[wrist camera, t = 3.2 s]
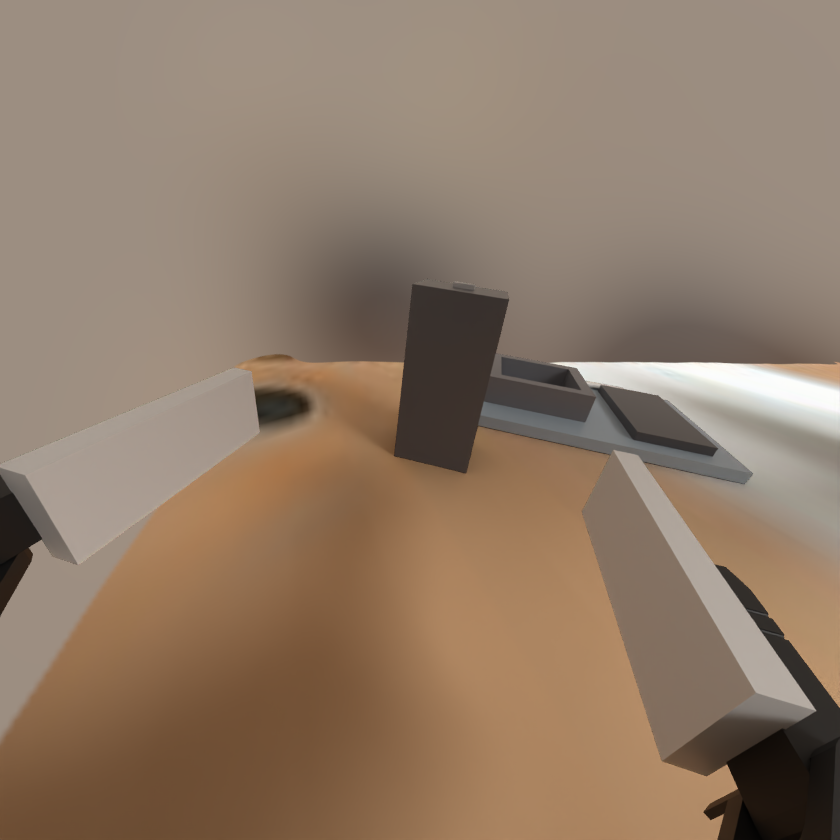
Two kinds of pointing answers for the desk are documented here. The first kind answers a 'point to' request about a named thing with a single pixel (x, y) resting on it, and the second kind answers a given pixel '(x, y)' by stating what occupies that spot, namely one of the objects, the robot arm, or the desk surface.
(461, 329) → the brick
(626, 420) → the charging dock
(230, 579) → the desk surface
